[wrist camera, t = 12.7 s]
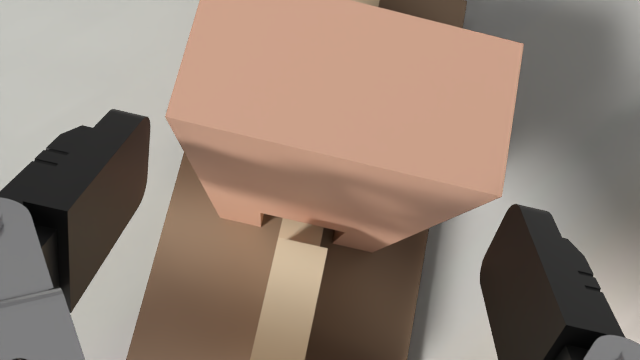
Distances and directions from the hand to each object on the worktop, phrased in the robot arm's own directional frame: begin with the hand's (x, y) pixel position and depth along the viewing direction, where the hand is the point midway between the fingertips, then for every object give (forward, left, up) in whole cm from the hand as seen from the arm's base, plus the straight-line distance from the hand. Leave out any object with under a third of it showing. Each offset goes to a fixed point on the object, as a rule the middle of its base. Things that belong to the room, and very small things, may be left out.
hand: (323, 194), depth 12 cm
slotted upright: (0, -2, -9) cm, 9 cm away
